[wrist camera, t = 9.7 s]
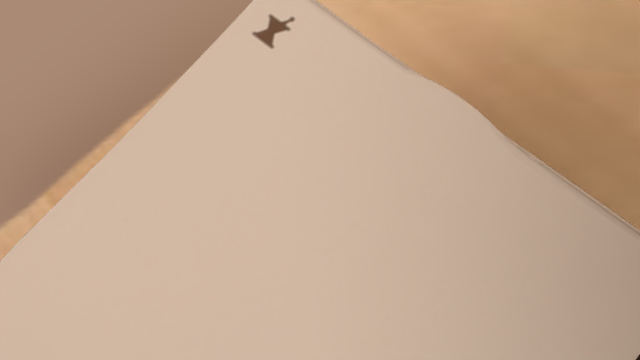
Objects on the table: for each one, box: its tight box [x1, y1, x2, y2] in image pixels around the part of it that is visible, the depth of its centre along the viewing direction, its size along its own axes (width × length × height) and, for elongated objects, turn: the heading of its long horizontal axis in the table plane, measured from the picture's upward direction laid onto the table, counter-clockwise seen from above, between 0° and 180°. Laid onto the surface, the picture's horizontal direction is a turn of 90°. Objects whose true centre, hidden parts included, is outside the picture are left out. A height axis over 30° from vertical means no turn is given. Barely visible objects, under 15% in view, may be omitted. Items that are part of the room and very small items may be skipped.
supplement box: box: [0, 0, 640, 360], centre depth 13 cm, size 9×9×15 cm
